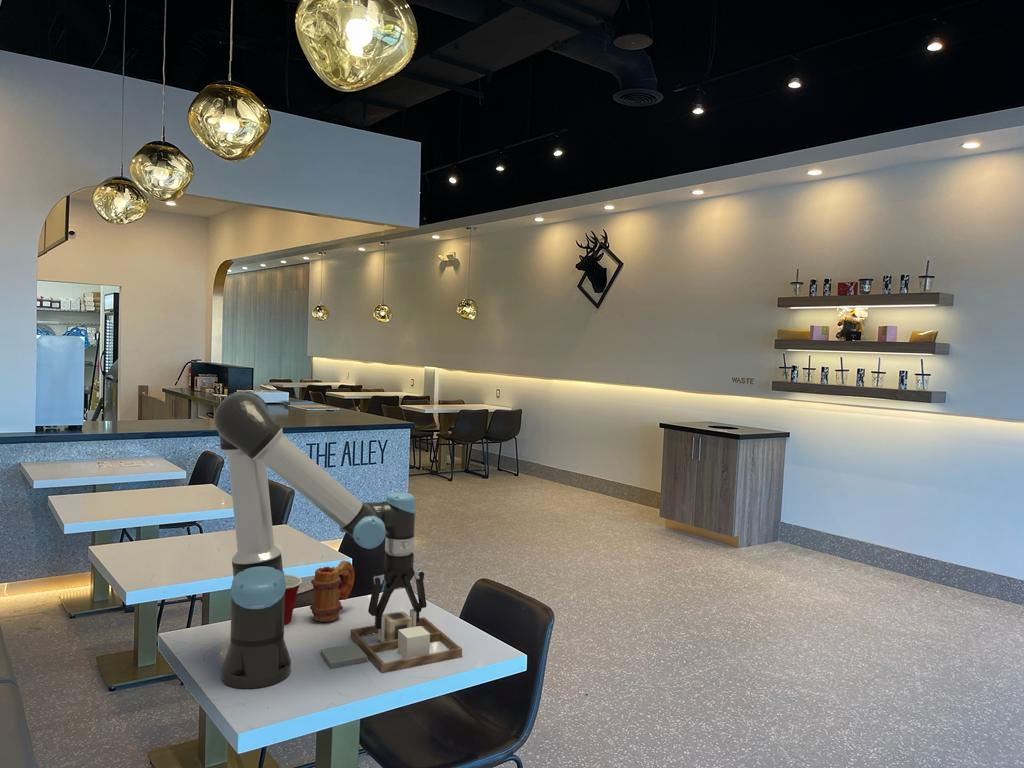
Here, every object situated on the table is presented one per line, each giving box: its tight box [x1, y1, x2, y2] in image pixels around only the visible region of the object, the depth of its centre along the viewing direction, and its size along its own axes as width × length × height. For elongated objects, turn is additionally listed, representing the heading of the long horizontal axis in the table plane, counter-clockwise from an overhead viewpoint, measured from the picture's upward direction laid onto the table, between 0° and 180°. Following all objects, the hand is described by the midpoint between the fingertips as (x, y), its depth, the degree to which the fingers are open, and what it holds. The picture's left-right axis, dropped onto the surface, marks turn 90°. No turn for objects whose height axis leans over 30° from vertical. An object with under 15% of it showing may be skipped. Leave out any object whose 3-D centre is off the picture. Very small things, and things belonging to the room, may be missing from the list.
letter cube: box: [383, 611, 412, 642], centre depth 188 cm, size 6×6×6 cm
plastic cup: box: [284, 573, 303, 626], centre depth 197 cm, size 11×11×12 cm
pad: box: [319, 642, 368, 669], centre depth 175 cm, size 9×9×1 cm
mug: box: [309, 560, 356, 623], centre depth 202 cm, size 15×8×15 cm, turn 147°
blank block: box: [397, 626, 431, 659], centre depth 178 cm, size 6×6×6 cm
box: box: [349, 616, 463, 674], centre depth 183 cm, size 21×24×2 cm
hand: (396, 637), depth 188 cm, fingers open, 8 cm apart
